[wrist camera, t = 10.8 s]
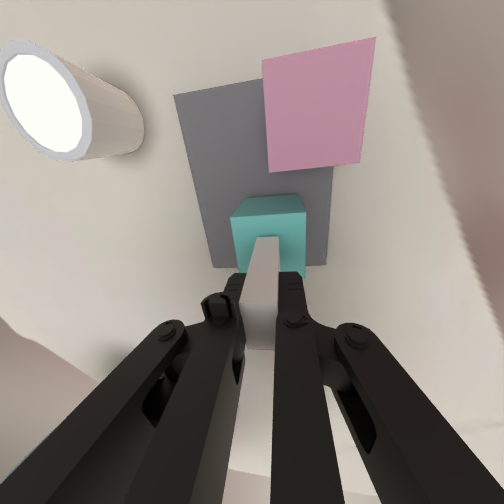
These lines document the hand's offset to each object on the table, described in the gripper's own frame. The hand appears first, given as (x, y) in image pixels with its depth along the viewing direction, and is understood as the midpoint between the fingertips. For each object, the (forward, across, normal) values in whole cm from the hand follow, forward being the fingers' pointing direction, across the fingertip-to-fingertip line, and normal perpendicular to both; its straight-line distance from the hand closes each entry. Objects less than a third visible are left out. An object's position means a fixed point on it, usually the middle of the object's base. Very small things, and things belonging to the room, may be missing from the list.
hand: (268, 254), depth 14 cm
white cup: (+10, -15, +11) cm, 21 cm away
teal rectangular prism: (+7, 0, 0) cm, 7 cm away
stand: (+9, -1, +3) cm, 10 cm away
